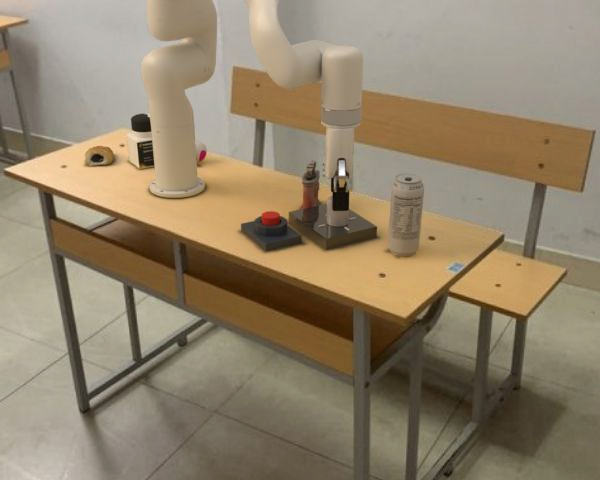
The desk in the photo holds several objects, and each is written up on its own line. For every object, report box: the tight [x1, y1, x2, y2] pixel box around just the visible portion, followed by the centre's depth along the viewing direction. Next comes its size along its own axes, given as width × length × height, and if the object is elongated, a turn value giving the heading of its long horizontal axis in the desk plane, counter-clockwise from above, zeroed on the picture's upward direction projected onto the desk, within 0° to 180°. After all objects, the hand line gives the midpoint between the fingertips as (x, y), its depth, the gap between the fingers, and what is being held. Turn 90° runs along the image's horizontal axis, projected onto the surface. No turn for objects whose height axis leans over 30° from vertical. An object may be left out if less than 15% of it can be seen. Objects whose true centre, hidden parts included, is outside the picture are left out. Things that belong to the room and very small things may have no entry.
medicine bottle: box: [126, 113, 155, 170], centre depth 191 cm, size 7×7×12 cm
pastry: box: [84, 145, 115, 167], centre depth 194 cm, size 9×7×4 cm
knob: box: [326, 195, 349, 227], centre depth 155 cm, size 4×4×5 cm
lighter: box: [301, 160, 321, 209], centre depth 166 cm, size 8×3×10 cm, turn 168°
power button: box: [261, 210, 281, 226], centre depth 154 cm, size 4×4×2 cm
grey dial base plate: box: [288, 203, 378, 251], centre depth 158 cm, size 15×12×3 cm
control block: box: [240, 215, 303, 252], centre depth 155 cm, size 11×8×4 cm
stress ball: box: [195, 139, 208, 167], centre depth 193 cm, size 8×8×7 cm
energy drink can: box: [387, 173, 425, 258], centre depth 147 cm, size 6×6×15 cm
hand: (339, 201), depth 154 cm, fingers open, 9 cm apart
